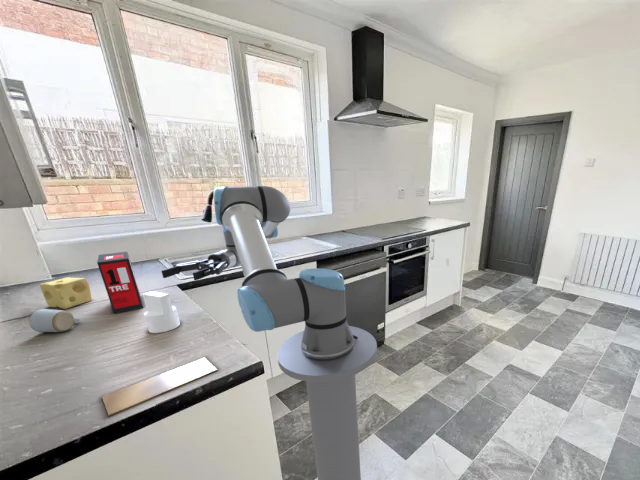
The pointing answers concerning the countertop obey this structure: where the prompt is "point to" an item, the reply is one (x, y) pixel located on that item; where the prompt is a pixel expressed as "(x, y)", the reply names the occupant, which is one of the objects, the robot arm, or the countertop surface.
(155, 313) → the cylinder with rectangular tab
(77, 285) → the cheese
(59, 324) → the ceramic mug
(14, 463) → the countertop surface
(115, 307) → the cleaning product box
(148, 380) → the tan rectangular plate
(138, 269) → the countertop surface
